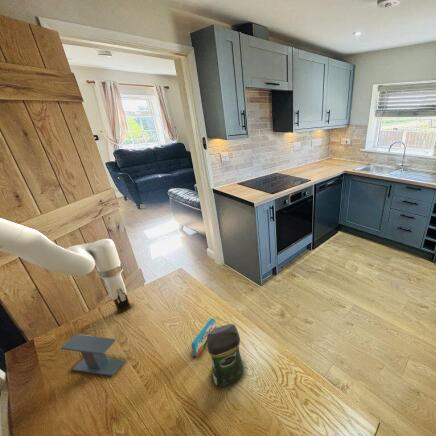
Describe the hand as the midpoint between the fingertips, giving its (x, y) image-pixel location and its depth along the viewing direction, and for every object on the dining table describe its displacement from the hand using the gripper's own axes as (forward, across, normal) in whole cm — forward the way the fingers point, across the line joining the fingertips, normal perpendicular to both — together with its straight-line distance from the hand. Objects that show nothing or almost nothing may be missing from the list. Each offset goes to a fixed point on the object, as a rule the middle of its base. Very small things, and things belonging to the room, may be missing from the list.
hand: (122, 305), depth 100 cm
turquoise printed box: (+3, +40, +15) cm, 43 cm away
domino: (+3, 0, 0) cm, 3 cm away
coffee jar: (+3, +55, +14) cm, 57 cm away
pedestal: (+3, +22, -13) cm, 26 cm away
